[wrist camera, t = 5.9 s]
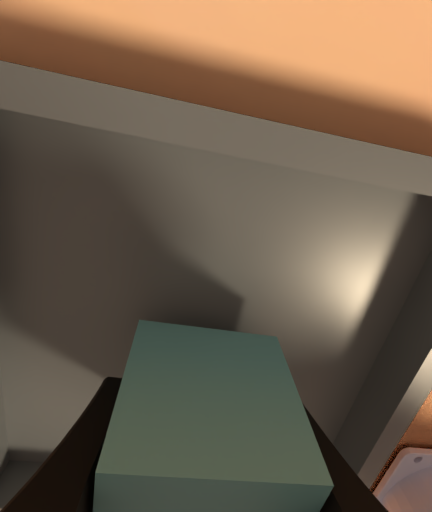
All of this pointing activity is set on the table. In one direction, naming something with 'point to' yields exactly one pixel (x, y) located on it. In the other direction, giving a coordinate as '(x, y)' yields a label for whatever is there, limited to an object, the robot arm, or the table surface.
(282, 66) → the table surface
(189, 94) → the table surface
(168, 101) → the charcoal tray
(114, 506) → the teal block
